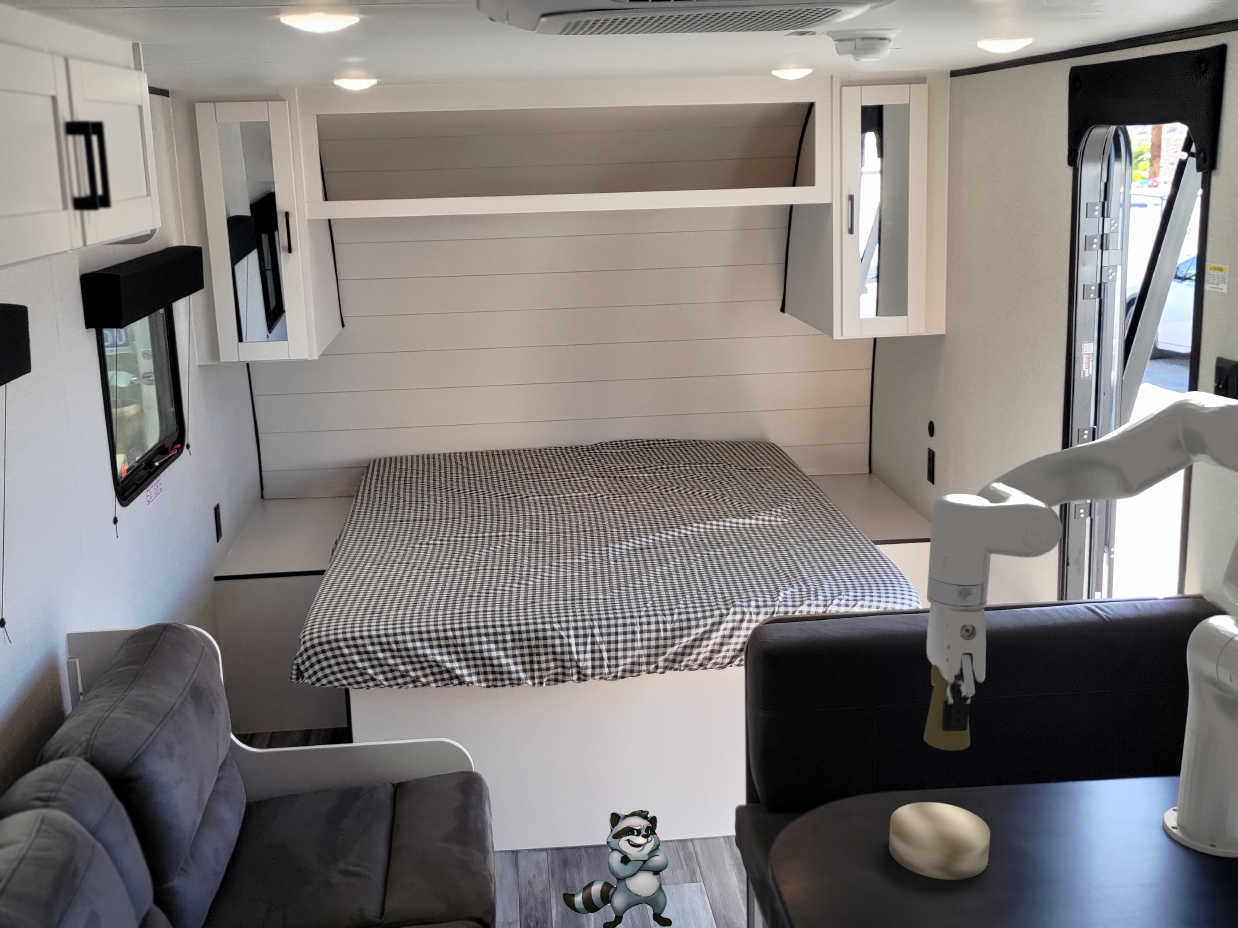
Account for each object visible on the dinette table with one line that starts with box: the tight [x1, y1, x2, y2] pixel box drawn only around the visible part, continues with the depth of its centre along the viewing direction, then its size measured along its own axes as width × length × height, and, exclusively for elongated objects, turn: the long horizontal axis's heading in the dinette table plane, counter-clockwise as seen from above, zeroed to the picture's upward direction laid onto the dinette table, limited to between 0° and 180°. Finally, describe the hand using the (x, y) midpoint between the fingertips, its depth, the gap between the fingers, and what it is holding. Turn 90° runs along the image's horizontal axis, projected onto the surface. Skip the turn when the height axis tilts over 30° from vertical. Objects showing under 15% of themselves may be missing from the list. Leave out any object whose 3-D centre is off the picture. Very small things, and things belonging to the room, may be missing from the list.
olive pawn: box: [923, 664, 971, 751], centre depth 152 cm, size 6×6×11 cm
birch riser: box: [888, 801, 991, 881], centre depth 156 cm, size 13×13×4 cm
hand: (948, 720), depth 153 cm, fingers closed on olive pawn, 4 cm apart
